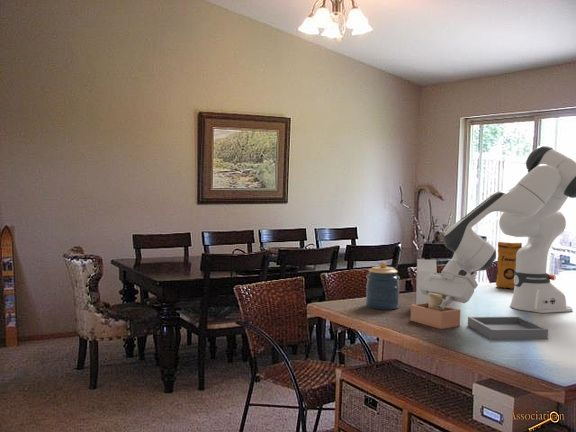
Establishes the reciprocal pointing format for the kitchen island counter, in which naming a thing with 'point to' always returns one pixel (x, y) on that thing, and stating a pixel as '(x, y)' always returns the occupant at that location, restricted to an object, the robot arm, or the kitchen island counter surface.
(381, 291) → the canister
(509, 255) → the coffee package
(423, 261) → the milk carton
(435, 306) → the birch peg
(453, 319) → the terracotta planter box
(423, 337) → the kitchen island counter surface
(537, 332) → the charcoal tray
